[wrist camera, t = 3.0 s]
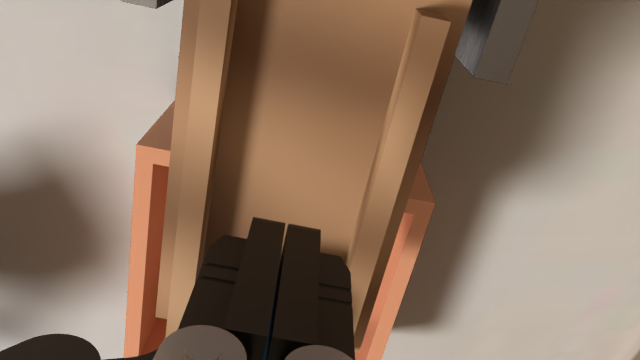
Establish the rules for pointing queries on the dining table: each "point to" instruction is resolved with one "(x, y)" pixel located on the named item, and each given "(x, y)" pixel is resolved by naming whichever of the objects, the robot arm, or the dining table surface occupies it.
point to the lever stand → (476, 35)
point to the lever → (301, 129)
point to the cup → (148, 234)
